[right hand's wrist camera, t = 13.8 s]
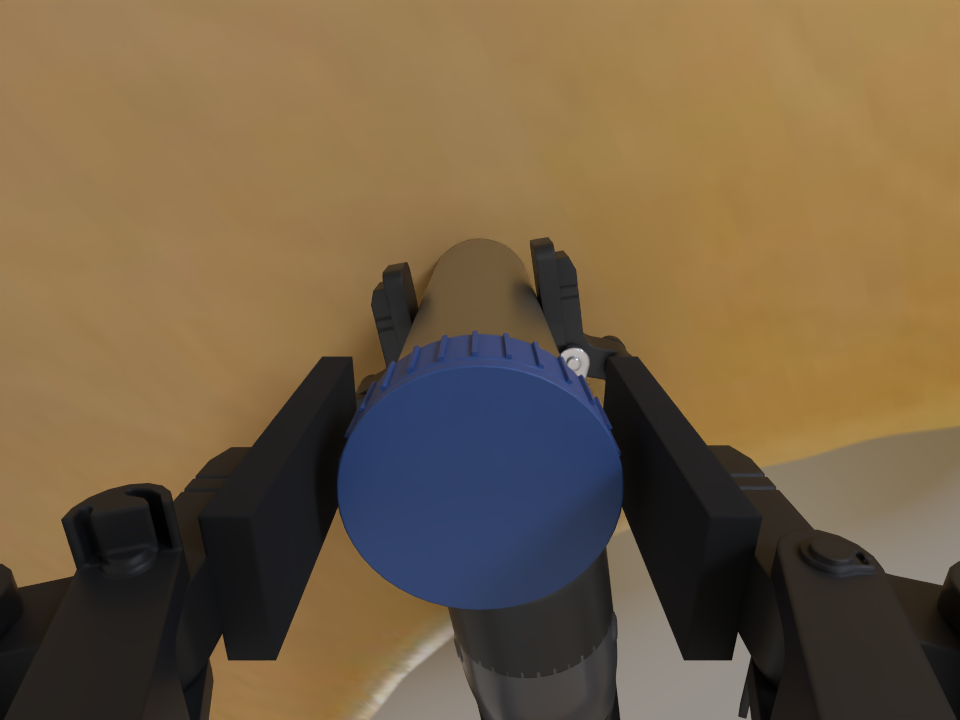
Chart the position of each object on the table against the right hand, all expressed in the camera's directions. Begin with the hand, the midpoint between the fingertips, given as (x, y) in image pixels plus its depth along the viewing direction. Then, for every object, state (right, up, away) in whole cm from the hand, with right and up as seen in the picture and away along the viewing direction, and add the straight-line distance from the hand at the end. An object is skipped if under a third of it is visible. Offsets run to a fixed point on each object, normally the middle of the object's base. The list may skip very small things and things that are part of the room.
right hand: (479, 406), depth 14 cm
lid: (0, -1, -4) cm, 4 cm away
